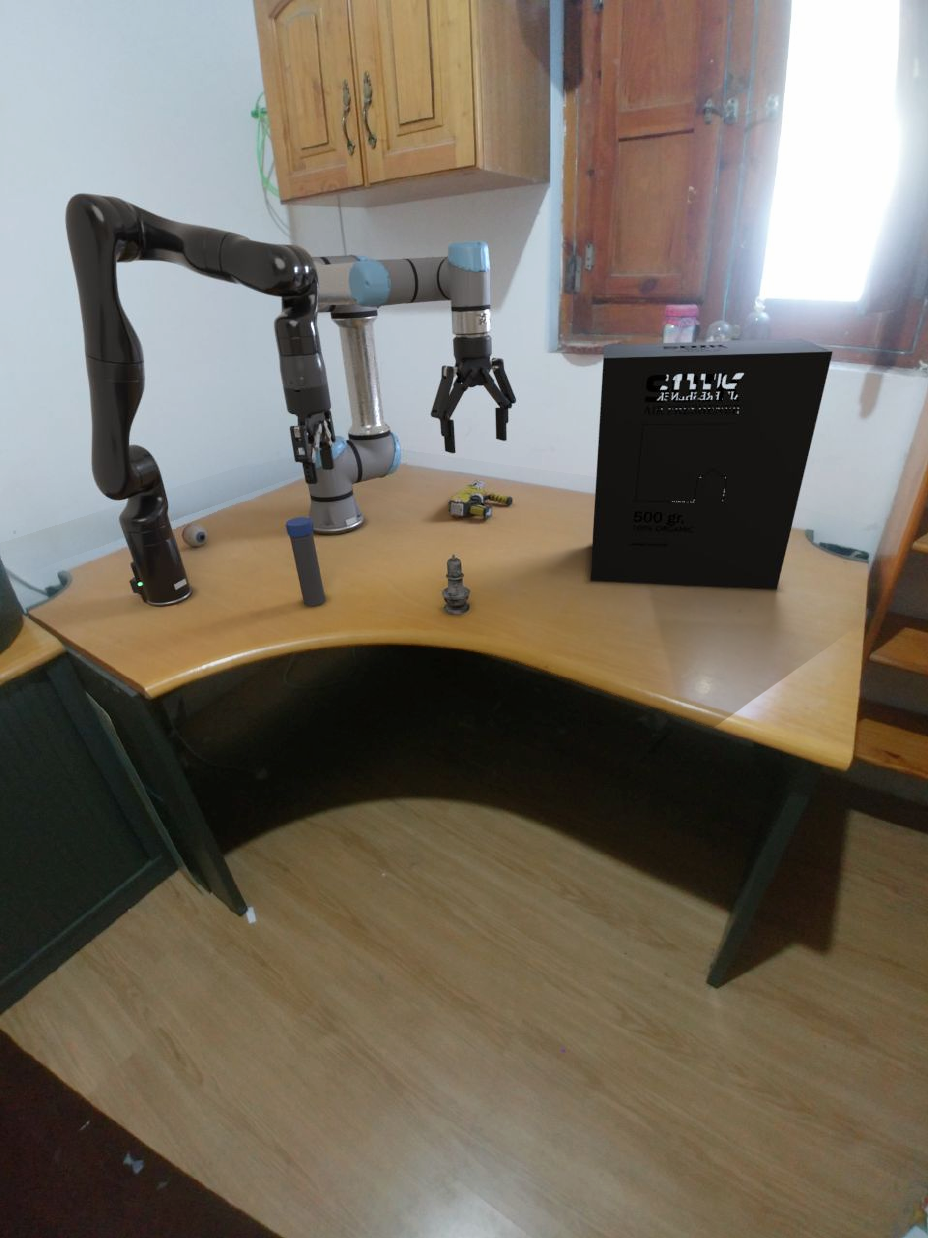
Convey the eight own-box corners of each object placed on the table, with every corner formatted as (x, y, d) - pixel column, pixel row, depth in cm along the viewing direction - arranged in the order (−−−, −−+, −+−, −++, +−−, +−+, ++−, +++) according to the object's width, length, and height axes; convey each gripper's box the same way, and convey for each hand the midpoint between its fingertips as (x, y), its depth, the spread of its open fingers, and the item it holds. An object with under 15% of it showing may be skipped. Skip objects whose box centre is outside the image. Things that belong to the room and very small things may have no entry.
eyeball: (196, 552, 157) (189, 530, 154) (181, 548, 160) (174, 526, 157) (215, 543, 161) (209, 522, 158) (200, 540, 165) (193, 519, 162)
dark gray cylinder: (314, 595, 133) (299, 518, 124) (329, 599, 131) (315, 521, 122) (299, 603, 129) (282, 525, 121) (314, 608, 127) (298, 529, 118)
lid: (300, 526, 125) (298, 515, 124) (319, 530, 123) (317, 519, 121) (282, 534, 121) (279, 523, 120) (300, 538, 119) (298, 527, 118)
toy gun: (520, 484, 182) (474, 477, 186) (498, 508, 162) (446, 499, 166) (519, 500, 184) (473, 492, 188) (497, 524, 164) (445, 516, 168)
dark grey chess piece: (468, 615, 121) (465, 561, 115) (439, 614, 122) (435, 559, 116) (473, 601, 126) (471, 548, 120) (446, 600, 127) (442, 547, 121)
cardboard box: (756, 549, 141) (800, 338, 118) (776, 589, 124) (832, 351, 101) (592, 544, 148) (604, 344, 126) (590, 580, 131) (603, 357, 109)
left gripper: (299, 376, 109) (315, 465, 117) (266, 390, 97) (286, 488, 105) (339, 375, 108) (352, 465, 116) (311, 389, 96) (327, 488, 104)
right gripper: (429, 342, 108) (437, 460, 118) (533, 329, 120) (532, 437, 131) (407, 340, 113) (417, 454, 124) (508, 328, 125) (510, 432, 136)
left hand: (320, 476), depth 110 cm, fingers open, 8 cm apart
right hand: (476, 445), depth 127 cm, fingers open, 13 cm apart
